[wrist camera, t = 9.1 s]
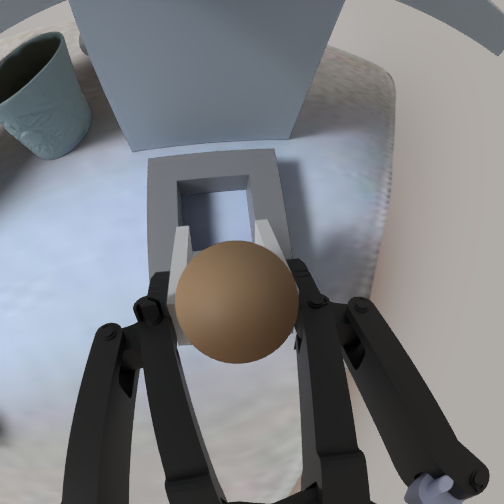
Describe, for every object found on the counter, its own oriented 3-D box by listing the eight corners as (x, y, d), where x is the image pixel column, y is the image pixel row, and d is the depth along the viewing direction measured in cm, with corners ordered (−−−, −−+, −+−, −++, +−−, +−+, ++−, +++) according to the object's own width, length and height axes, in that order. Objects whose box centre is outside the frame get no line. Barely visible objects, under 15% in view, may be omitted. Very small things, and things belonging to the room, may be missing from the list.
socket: (286, 278, 24) (294, 274, 22) (158, 291, 23) (150, 288, 20) (268, 164, 27) (274, 148, 24) (154, 174, 25) (148, 158, 22)
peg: (190, 293, 20) (155, 272, 9) (241, 269, 20) (264, 221, 10) (215, 344, 19) (209, 383, 8) (266, 319, 20) (318, 327, 9)
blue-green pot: (74, 89, 27) (43, 26, 15) (115, 117, 26) (81, 38, 14) (20, 145, 24) (-28, 92, 13) (51, 183, 24) (-11, 124, 12)
